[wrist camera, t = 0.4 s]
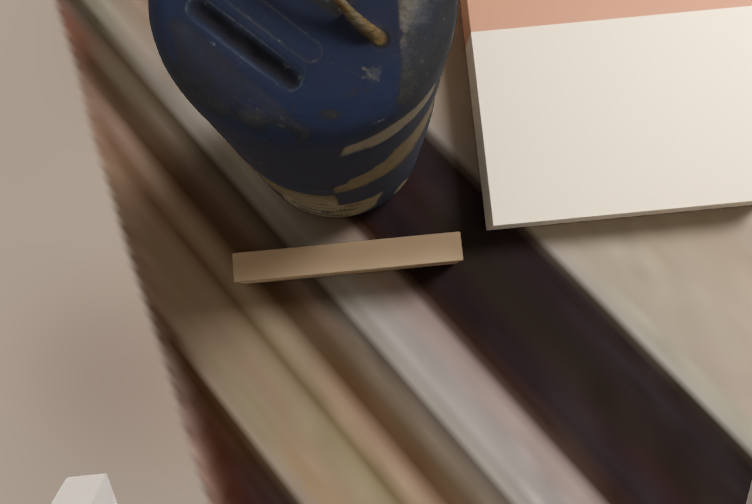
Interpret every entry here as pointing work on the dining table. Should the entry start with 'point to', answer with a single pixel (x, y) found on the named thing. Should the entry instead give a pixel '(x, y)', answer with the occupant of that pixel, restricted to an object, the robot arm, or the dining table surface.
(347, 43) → the canister
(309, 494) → the dining table surface
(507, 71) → the board
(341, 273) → the rails
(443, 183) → the dining table surface
